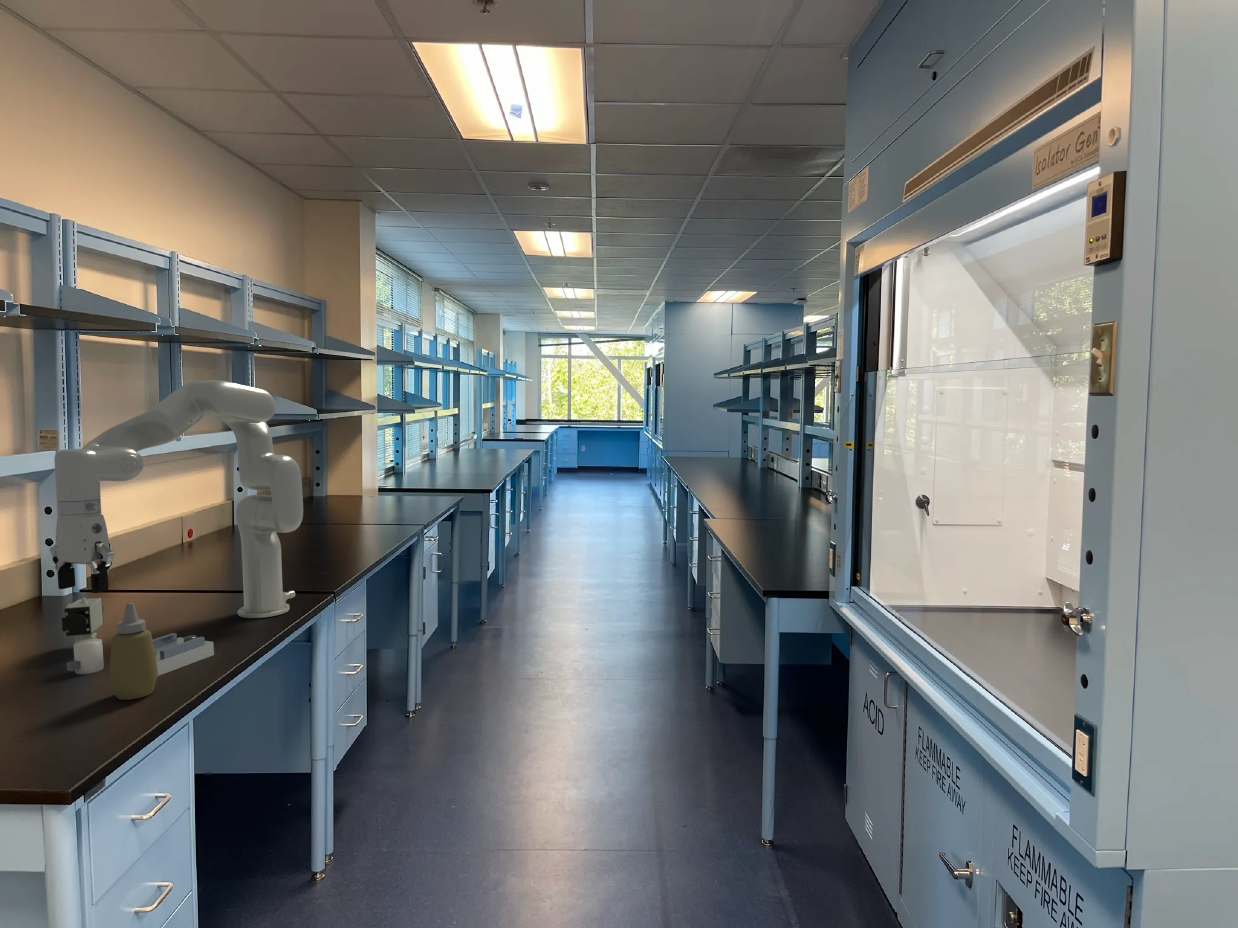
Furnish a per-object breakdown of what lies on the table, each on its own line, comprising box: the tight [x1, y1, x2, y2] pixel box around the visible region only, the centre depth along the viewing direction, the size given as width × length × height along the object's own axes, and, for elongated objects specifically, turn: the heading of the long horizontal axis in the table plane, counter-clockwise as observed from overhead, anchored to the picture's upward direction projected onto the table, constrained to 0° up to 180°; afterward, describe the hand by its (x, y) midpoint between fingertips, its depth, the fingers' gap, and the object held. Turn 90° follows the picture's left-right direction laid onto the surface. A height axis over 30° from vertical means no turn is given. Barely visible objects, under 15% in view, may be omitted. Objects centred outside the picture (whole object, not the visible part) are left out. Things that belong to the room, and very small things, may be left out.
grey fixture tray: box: [152, 632, 215, 677], centre depth 167 cm, size 14×10×5 cm
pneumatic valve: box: [61, 596, 105, 643], centre depth 176 cm, size 6×12×12 cm, turn 18°
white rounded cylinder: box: [66, 638, 105, 675], centre depth 162 cm, size 7×5×6 cm
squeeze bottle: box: [108, 602, 159, 701], centre depth 148 cm, size 8×8×18 cm
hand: (83, 589), depth 161 cm, fingers open, 9 cm apart
